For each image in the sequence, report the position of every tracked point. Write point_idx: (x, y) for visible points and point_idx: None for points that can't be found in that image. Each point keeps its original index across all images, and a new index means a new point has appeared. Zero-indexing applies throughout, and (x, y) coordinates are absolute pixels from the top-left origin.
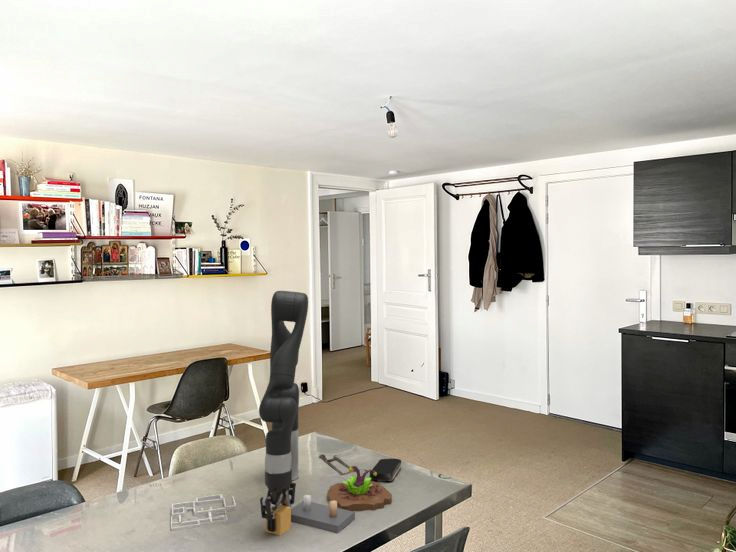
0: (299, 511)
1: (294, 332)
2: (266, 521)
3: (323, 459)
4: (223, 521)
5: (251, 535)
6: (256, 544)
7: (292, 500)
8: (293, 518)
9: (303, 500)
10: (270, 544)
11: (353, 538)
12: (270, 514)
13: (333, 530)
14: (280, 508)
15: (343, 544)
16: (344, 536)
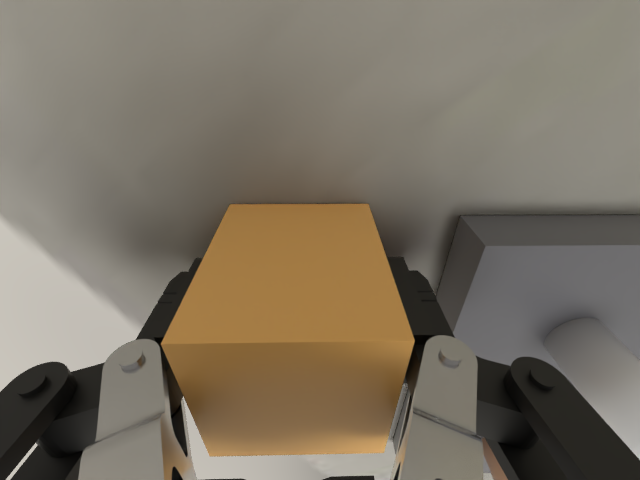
0: (530, 315)
1: None
2: (209, 254)
3: None
4: None
5: (104, 140)
6: (60, 252)
7: (501, 457)
8: (450, 292)
9: None
10: (132, 311)
11: (374, 471)
12: (69, 472)
13: (397, 436)
14: (312, 415)
15: (323, 467)
16: (376, 455)
